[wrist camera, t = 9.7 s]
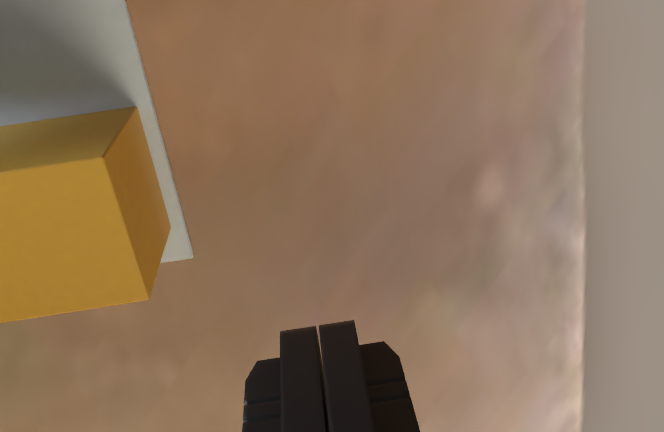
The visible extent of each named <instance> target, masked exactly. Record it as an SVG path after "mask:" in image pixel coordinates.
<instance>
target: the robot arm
mask: <svg viewBox="0 0 664 432" xmlns="http://www.w3.org/2000/svg"><path fill="white" fill-rule="evenodd" d="M319 333H320V343H321V352H322V358H321V352H320V346H319V340H318V334H317V329H316V326H312V327H306V328H299V329H293V330H286V331H280V358H273V359H267V360H260V361H257V362H256V364H255V366H254V367H253V369H252V371H251V372H250V374H249V376H248V377H247V379H246V381H245V397H244V403H245V406H244V413H243V422H244V423H243V428H242V432H420V430H419V426H418V422H417V419H416V415H415V412H414V408H413V404H412V401H411V397H410V395H409V390H408V387H407V383H406V381H405V376H404V372H403V369H402V365H401V362H400V358H399V356H398V355H397V354H396V353H395V352H394V351H393V350H392V349H391V348H390V347H389V346H388V345H387V344H386V343H385V342H384V341H383V342H377V343H370V344H364V345H359V343H358V338H357V333H356V328H355V323H354V320H351V321H344V322H338V323H331V324H325V325H319ZM322 362H323V364H322Z"/></svg>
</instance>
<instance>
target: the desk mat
mask: <svg viewBox="0 0 664 432" xmlns="http://www.w3.org/2000/svg"><path fill="white" fill-rule="evenodd" d="M134 106H136V107H137V108H138V111H139V115H140V118H141V122H142V125H143V129H144V132H145V136H146V140H147V143H148V147H149V150H150V154H151V157H152V161H153V164H154V168H155V172H156V175H157V179H158V182H159V186H160V189H161V193H162V196H163V200H164V204H165V207H166V211H167V214H168V218H169V221H170V225H171V230H170V233H169V236H168V239H167V242H166V246H165V249H164V252H163V255H162V258H161V262H160V263H163V262H170V261H176V260H183V259H189V258H193V255H194V253H193V250H192V246H191V242H190V238H189V235H188V231H187V227H186V223H185V220H184V216H183V212H182V209H181V205H180V201H179V197H178V194H177V190H176V186H175V182H174V179H173V175H172V171H171V168H170V164H169V160H168V156H167V153H166V149H165V145H164V141H163V138H162V134H161V130H160V127H159V123H158V119H157V115H156V112H155V108H154V104H153V100H152V97H151V93H150V89H149V85H148V82H147V78H146V74H145V71H144V67H143V63H142V59H141V56H140V52H139V48H138V44H137V41H136V37H135V33H134V30H133V26H132V22H131V18H130V15H129V11H128V7H127V3H126V0H0V126H5V125H12V124H19V123H26V122H32V121H39V120H46V119H53V118H59V117H66V116H73V115H80V114H86V113H93V112H100V111H107V110H113V109H120V108H127V107H134Z"/></svg>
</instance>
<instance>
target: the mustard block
mask: <svg viewBox="0 0 664 432" xmlns="http://www.w3.org/2000/svg"><path fill="white" fill-rule="evenodd" d="M170 230H171V225H170V221H169V218H168V214H167V211H166V207H165V204H164V200H163V196H162V193H161V189H160V186H159V182H158V179H157V175H156V172H155V168H154V164H153V161H152V157H151V154H150V150H149V147H148V143H147V140H146V136H145V132H144V129H143V125H142V122H141V118H140V115H139V111H138V108H137V107H136V106H134V107H127V108H120V109H113V110H107V111H100V112H93V113H86V114H80V115H73V116H66V117H59V118H53V119H46V120H39V121H32V122H26V123H19V124H12V125H5V126H0V323H3V322H9V321H16V320H22V319H29V318H35V317H42V316H48V315H55V314H61V313H68V312H74V311H81V310H87V309H93V308H100V307H106V306H113V305H119V304H126V303H132V302H139V301H145V300H148V299H149V297H150V294H151V290H152V287H153V284H154V281H155V278H156V274H157V271H158V268H159V265H160V262H161V258H162V255H163V252H164V249H165V246H166V242H167V239H168V236H169V233H170Z"/></svg>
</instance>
